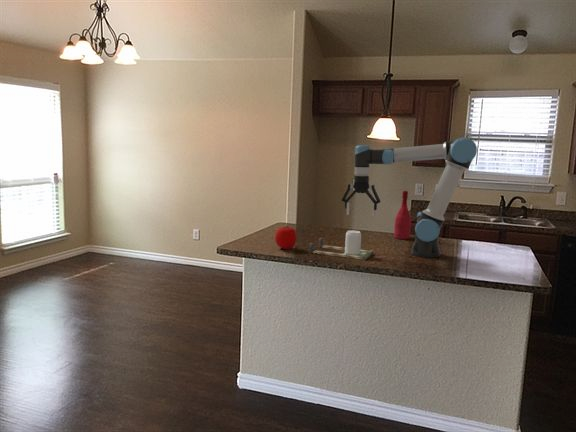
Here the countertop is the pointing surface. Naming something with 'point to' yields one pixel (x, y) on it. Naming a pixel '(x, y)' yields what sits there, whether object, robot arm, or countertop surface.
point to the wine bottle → (403, 220)
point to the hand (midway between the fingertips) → (360, 215)
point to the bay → (363, 253)
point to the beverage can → (353, 242)
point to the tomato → (285, 237)
